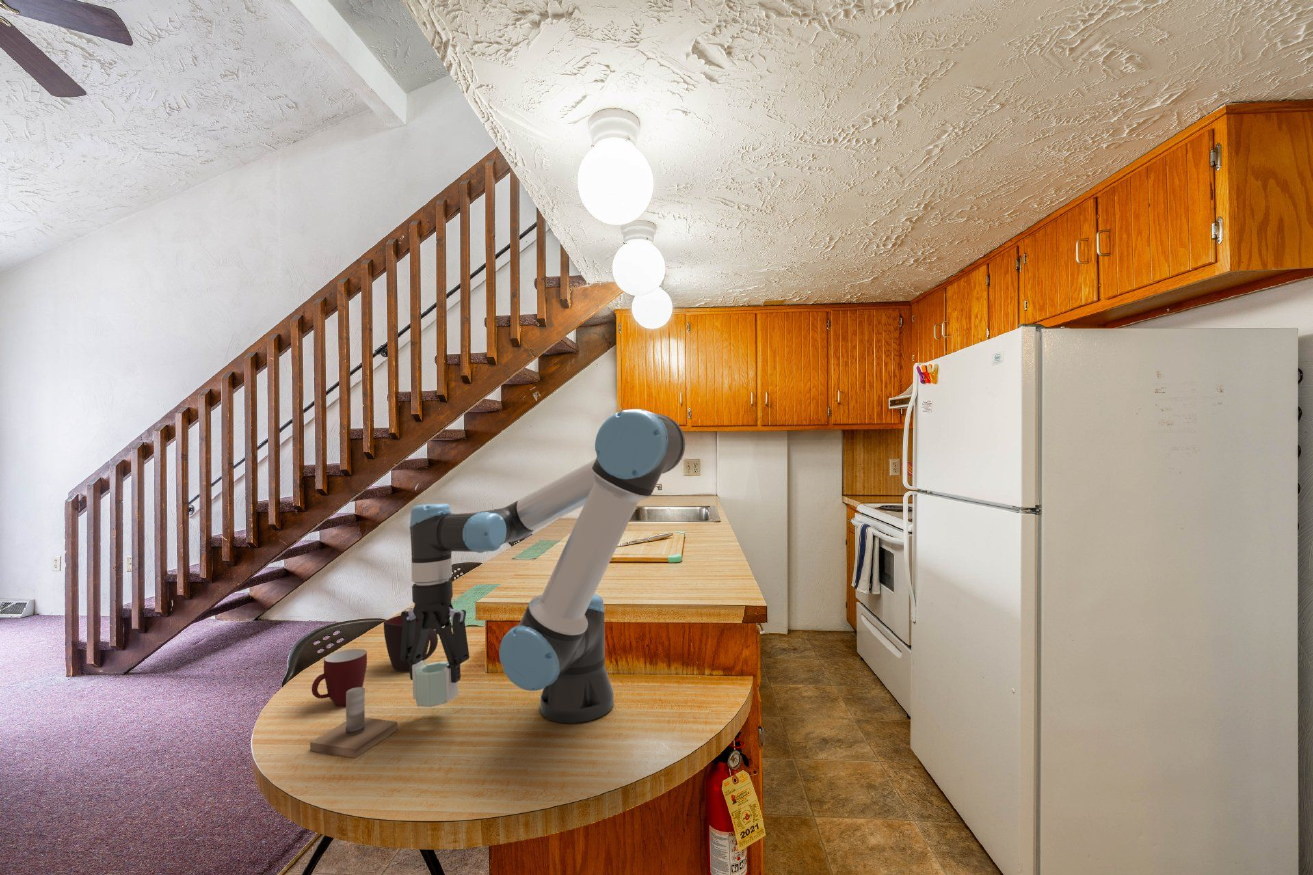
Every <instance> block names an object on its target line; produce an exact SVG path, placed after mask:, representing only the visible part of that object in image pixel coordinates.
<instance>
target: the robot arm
mask: <svg viewBox="0 0 1313 875" xmlns="http://www.w3.org/2000/svg"><path fill="white" fill-rule="evenodd" d="M594 451H595V454H596V458H595V459H593V460H591V461H590V462H586V463H585V464H584V465H581V466H580V467H578V468H576V469H574V470H572V471H570V472H568V473H566V474H565V475H563V476H561V477H559V478H557V479H555V480H554V481H552V482H550V483H548V484H545V485H544V486H543V487H540V488H539V489H537V490H534V491H533V492H531V493H529V494H527V495H525V496H523V497H522V498H520V499H518V500H516V501H515V502H512V503H511V504H509V505H507V506H503V507H502V508H501V507H500V508H495V509H491V510H490V509H489V510H484V511H483V510H482V511H477V512H468V513H467V512H465V513H452V511H451V506H450V504H448V503H441V502H440V503H427V504H419V505H414V506H413V507H412V508H411V510H410V524H409V530H410V532H409V533H410V549H411V552H410V553H411V558H410V559H411V560H410V561H411V581H412V583H413V584H412V586H411V595H412V598H411V600H412V603H413V604H414V606H413V607H412V608H409V609H408V608H407V609H406V610H403V611H402V612H400V615H401V618H402V622H403V626H402V640H401V654H400V659H401V660H402V661H404V660H405V661H407V662H408V663H409V664H410V671H409V679H410V680H411V681H412V698H413V700H416V686H415V670H416V669H418V668H420V667H421V666H423V665H425V664H426V660H424V661H420V662H419V660H421V659H423V657H422V653H423V650H424V647H425V643H426V640H427V636H428V633H429V630H430V629H434V630H435V631H436V634H437V636H438V638H439V639H440V643H441V646H442V648H443V651H444V654H445V657H446V660H447V661H446V662H448V664H449V665H448V666H447V667H445V672H446V701H448V702H447V703H449V702H452V700H454V699H455V698H457V697H458V696H459V682H460V681H461V678H462V677H461V672H462V671H461V665H462V664H463V663H465V662H466V661H468V660H469V659H470V653H469V644H468V643H469V642H468V637H467V636H468V635H467V629H466V628H467V627H466V616H467V611H466V610H465V609H461V610H458V609H455V608H454V607H453V604H452V600H453V596H454V595H453V594H454V592H453V580H452V579H451V578H452V577H453V571H452V570H453V569H452V568H453V567H452V566H453V565H452V552H466V553H467V552H469V553H473V552H474V553H475V552H476V553H479V554H482V553H485V552H486V553H487V552H494V551H497V550H499V549H500V547H501V546H502V545H504V544H506V543H507V544H508V543H511V542H517V541H518V542H519V541H520V540H523V539H525V538H528V537H529V536H531V534H533V533H534V531H537V530H538V529H540V528H543V527H544V526H546V525H548V524H549V523H552V522H555V521H556V520H558V519H561V518H562V517H564V516H566V515H568V514H570V513H572V512H574V511H575V510H578V509H580V508H582V509H581V511H580V513H579V515H578V517H577V519H576V522H575V523H574V525H573V528H572V530H571V532H570V535H569V536H568V539H567V541H566V543H565V544H564V547H563V549H562V551H561V554H560V556H559V559H558V560H557V562H556V565H555V567H554V569H553V571H552V573H551V575H550V577H549V579H548V581H547V584H546V586H545V588H544V590H543V592H542V594H540V595H536V596H534V597H532V598H531V599H530V601H529V603H528V605H527V607H526V609H525V611H524V613H523V615H522V618H521V620H520V621H519V623H518V625H516V626H514V627H512V628H510V629H509V630H507V631H508V632H507V633H505V635H504V636H502V639H501V641H500V644H499V649H498V651H499V652H498V655H499V662H500V664H501V666H502V670H503V672H504V674H505V676H506V677H507V679H508V680H510V682H511V683H512V684H514V685H515V686H516V687H518V688H519V689H521V690H523V691H529V692H535V691H542V692H541V694H540V699H539V700H540V701H539V703H540V704H539V706H540V707H539V708H540V714H541V715H542V716H543V717H545V718H546V719H548V720H550V721H552V722H556V723H563V724H578V723H585V722H591V721H594V720H596V719H599V718H601V717H604V716H605V715H606V714H608V713H609V712H610V711H611V710H612V709H613V707H614V702H615V701H614V697H615V696H614V689H613V687H612V684H611V680H610V678H609V674H608V671H607V669H606V665H605V664H606V662H605V660H606V658H605V655H606V654H605V652H606V651H605V649H606V648H605V646H606V645H605V614H606V612H605V607H604V606H605V604H604V599H603V598H602V597H601V596H600V595H599V594H596V591H597V590H598V587H599V585H600V583H601V582H602V579H603V576H604V575H605V573H606V571H607V569H608V566H609V564H610V562H611V560H612V558H613V555H614V554H615V552H616V549H617V547H618V545H619V543H620V541H621V539H622V538H623V535H624V533H625V531H626V529H627V527H628V525H629V523H630V521H631V518H632V516H633V515H634V512H635V510H636V508H637V505H639V502H640V501H643V500H645V499H648V498H650V497H651V496H652V494H653V493H654V489H656V486H657V484H658V482H659V480H660V478H661V476H662V475H663V474H666V473H668V472H670V471H672V470H673V469H675V468H676V466H678V465H679V463H680V462H681V461H682V459H683V457H684V454H685V451H686V438H685V435H684V432H683V430H682V428H681V426H680V425H679V424H678V423H677V422H676V421H675V420H674V419H673V418H671V417H669V416H667V415H664V414H659V413H654V412H653V411H648V410H646V409H640V408H632V409H631V408H630V409H624V410H620V411H618V412H616V413H613V414H612V415H610V416H609V417H607V419H606V420H605V421H604V422H602V424H601V425H600V427H599V429H598V431H597V432H596V436H595V441H594ZM416 618H417V620H418V622H417V626H416ZM415 628H416V629H415ZM415 631H416V634H415Z"/></svg>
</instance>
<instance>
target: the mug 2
mask: <svg viewBox="0 0 1313 875" xmlns="http://www.w3.org/2000/svg"><path fill="white" fill-rule="evenodd" d="M417 622H418V620H417V618H416V626H417ZM402 626H403V622H402V618H401V614H400V615H397V616H393V617H391V618H388V619H386V620H385V621H383V633H384V641H385V645H386V650H387V655H388V658H389V661H390V664H391V666H392V669H393V670H394V671H396V672H401V673H408V672H409V673H410V664H409V663H408V662H407V661H405V660H404V661H402V660H401V659H400V654H401V640H402ZM415 629H416V628H415ZM415 634H416V631H415ZM438 642H439V635H438V634H436V631H435V629H430V630H429V633H428V636H427V640H426V643H425V647H424V650H423V653H422V657H423V659H421V660H419V662H420V661H426V660H427V659H429V658H430V657H431V656H432V655H433V653H434V652H435V651H436V649H437V646H438Z"/></svg>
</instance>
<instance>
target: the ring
mask: <svg viewBox="0 0 1313 875" xmlns="http://www.w3.org/2000/svg"><path fill="white" fill-rule="evenodd" d="M448 665H449V664H448V661H445V660H444V661H442V660H441V661H440V660H439V661H436V662H430V663H425V665H423V666H421V667H420V668H418V669H416V670H415V686H416V699H415V702H416V706H417V707H424V708H432V707H436V706H441V705H444V704H447V703H449V702H448V701H446V672H445V667H447V666H448Z"/></svg>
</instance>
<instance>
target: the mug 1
mask: <svg viewBox="0 0 1313 875" xmlns="http://www.w3.org/2000/svg"><path fill="white" fill-rule="evenodd" d="M367 656H368V651H367V650H365V649H362V648H352V649H351V648H350V649H344V650H340V651H335V652H332V653H331V654H328V655H327V656H325V657H324V658H323V673H322V674H319V675H318V676H317V677H316V678H315V679H314V681H313V682H312V685H311V692H312V696H314V697H315V698H317V699H328V698H329V699H330V700H331V701H332V703H333V705H335V706H336V707H346V692H347V691H348V690H350V689H352V688H357V687H363V686H364V682H365V678H366V677H365V675H366V672H367V671H366V670H367V665H368V657H367ZM323 680H324V681H325V686H326V691H327V692H326V693H325V694H320V692H319V685H320V683H321V682H322V681H323ZM363 688H364V687H363Z"/></svg>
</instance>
